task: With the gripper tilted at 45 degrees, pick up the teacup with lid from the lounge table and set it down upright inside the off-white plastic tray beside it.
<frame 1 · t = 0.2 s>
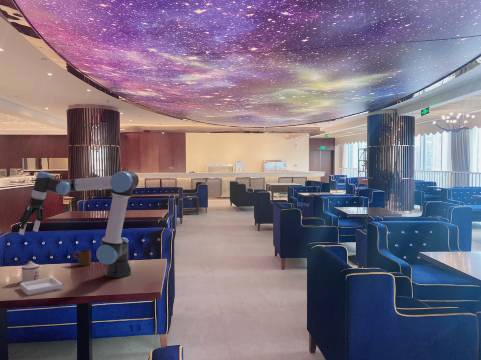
hand: (28, 232, 234), 28 cm above the table, tool tilted 15°, fingers open, 13 cm apart
mug: (81, 265, 271), on the table
teacup with lid: (31, 281, 232), on the table
tray: (41, 288, 217), on the table
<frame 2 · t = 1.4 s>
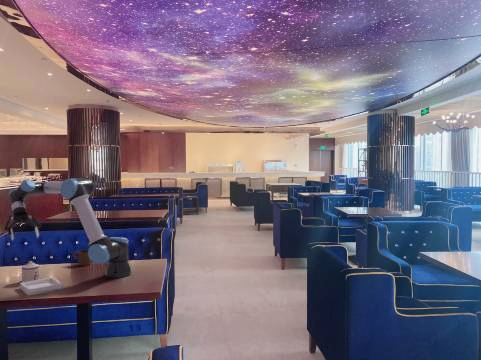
hand: (25, 237, 239), 24 cm above the table, tool tilted 45°, fingers open, 13 cm apart
nothing on the table moved.
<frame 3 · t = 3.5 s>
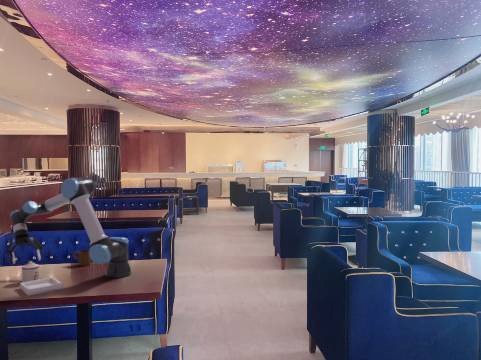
hand: (27, 260, 236), 11 cm above the table, tool tilted 45°, fingers open, 13 cm apart
nothing on the table moved.
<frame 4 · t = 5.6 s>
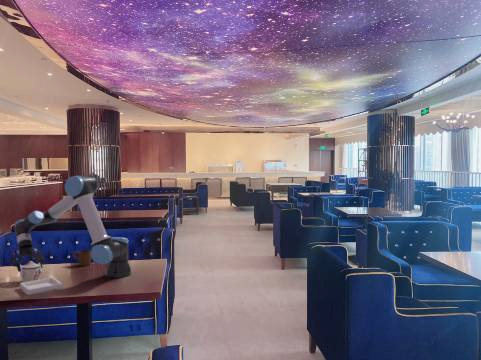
hand: (31, 274, 229), 5 cm above the table, tool tilted 45°, fingers closed on teacup with lid, 9 cm apart
teacup with lid: (31, 281, 232), on the table, touching gripper
everything else where it was.
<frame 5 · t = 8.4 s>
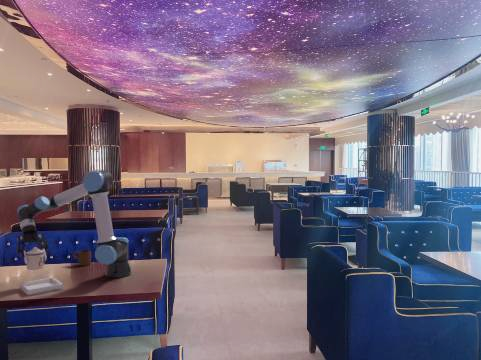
hand: (36, 260, 220), 15 cm above the table, tool tilted 45°, fingers closed on teacup with lid, 9 cm apart
teacup with lid: (36, 267, 223), point 10 cm above the table, touching gripper
everything else where it was.
when the fingers open (7 cm above the table, at t = 11.3 s): teacup with lid drops 1 cm, resting on tray.
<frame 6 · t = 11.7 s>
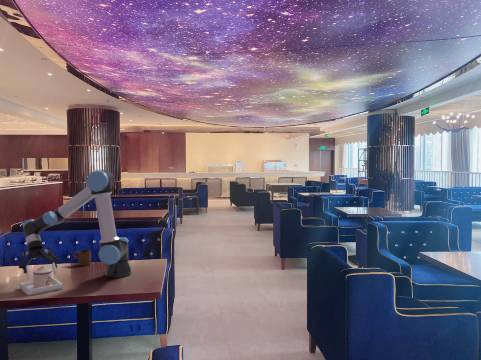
hand: (42, 275, 215), 8 cm above the table, tool tilted 45°, fingers open, 13 cm apart
teacup with lid: (43, 286, 218), point 1 cm above the table, touching tray
everything else where it was.
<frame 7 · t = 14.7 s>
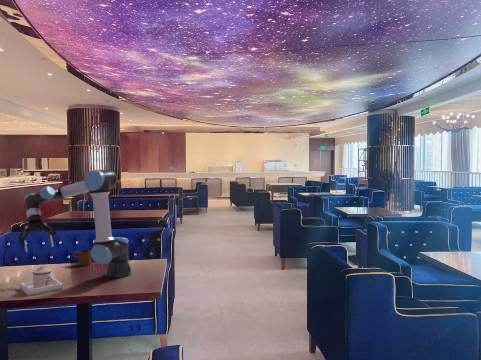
hand: (39, 248, 230), 19 cm above the table, tool tilted 40°, fingers open, 13 cm apart
nothing on the table moved.
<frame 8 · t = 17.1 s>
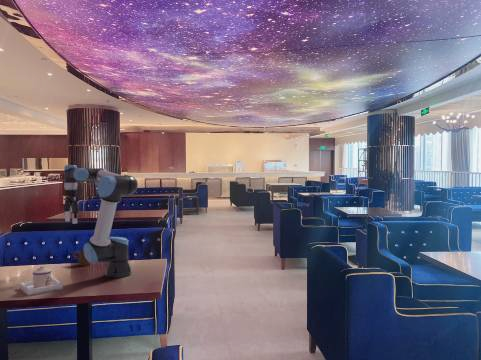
hand: (71, 222, 256), 31 cm above the table, tool pointing down, fingers open, 13 cm apart
nothing on the table moved.
at the end: teacup with lid inside the target area on the tray (0.8 cm from its centre), point 0.8 cm above the tray's base; teacup with lid tilted 0°; the gripper is holding nothing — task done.
